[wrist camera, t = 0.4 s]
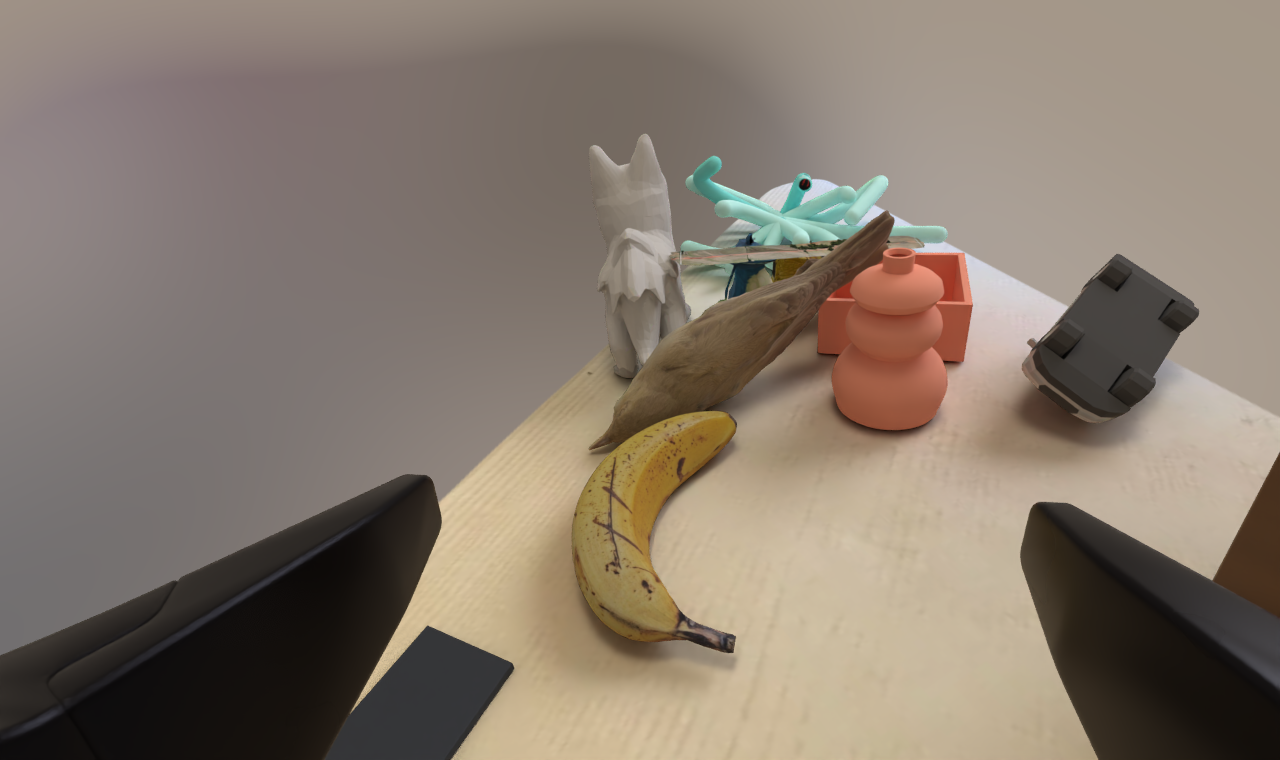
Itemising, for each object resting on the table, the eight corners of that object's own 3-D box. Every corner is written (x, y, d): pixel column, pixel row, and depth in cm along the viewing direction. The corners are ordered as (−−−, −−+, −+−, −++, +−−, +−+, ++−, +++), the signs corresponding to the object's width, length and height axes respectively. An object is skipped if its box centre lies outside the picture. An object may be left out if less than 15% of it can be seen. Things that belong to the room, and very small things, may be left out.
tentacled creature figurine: (698, 91, 51) (726, 113, 68) (641, 245, 57) (680, 231, 73) (983, 205, 48) (939, 199, 65) (894, 356, 54) (875, 315, 70)
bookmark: (665, 255, 43) (665, 248, 42) (907, 237, 49) (909, 231, 49) (680, 269, 41) (681, 262, 40) (931, 249, 47) (933, 242, 47)
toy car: (1145, 415, 30) (1070, 457, 34) (1220, 292, 36) (1148, 341, 40) (1041, 340, 32) (983, 389, 36) (1129, 234, 37) (1069, 287, 42)
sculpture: (862, 260, 45) (916, 270, 41) (602, 469, 41) (632, 504, 37) (836, 186, 42) (892, 188, 38) (552, 403, 38) (579, 433, 34)
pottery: (831, 300, 51) (835, 182, 46) (956, 303, 48) (975, 176, 43) (799, 424, 37) (799, 274, 32) (972, 442, 34) (1003, 278, 29)
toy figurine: (764, 361, 44) (761, 263, 40) (709, 357, 46) (701, 262, 42) (791, 292, 53) (791, 208, 50) (745, 291, 55) (741, 209, 51)
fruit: (733, 673, 24) (728, 624, 23) (532, 632, 27) (516, 587, 26) (777, 438, 36) (776, 397, 35) (635, 428, 39) (629, 389, 38)
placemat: (318, 948, 19) (313, 943, 18) (225, 867, 21) (219, 862, 21) (514, 668, 26) (512, 662, 26) (430, 630, 28) (427, 625, 28)
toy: (691, 284, 57) (660, 117, 49) (702, 398, 41) (659, 177, 33) (625, 296, 58) (584, 134, 50) (611, 412, 42) (548, 201, 34)
